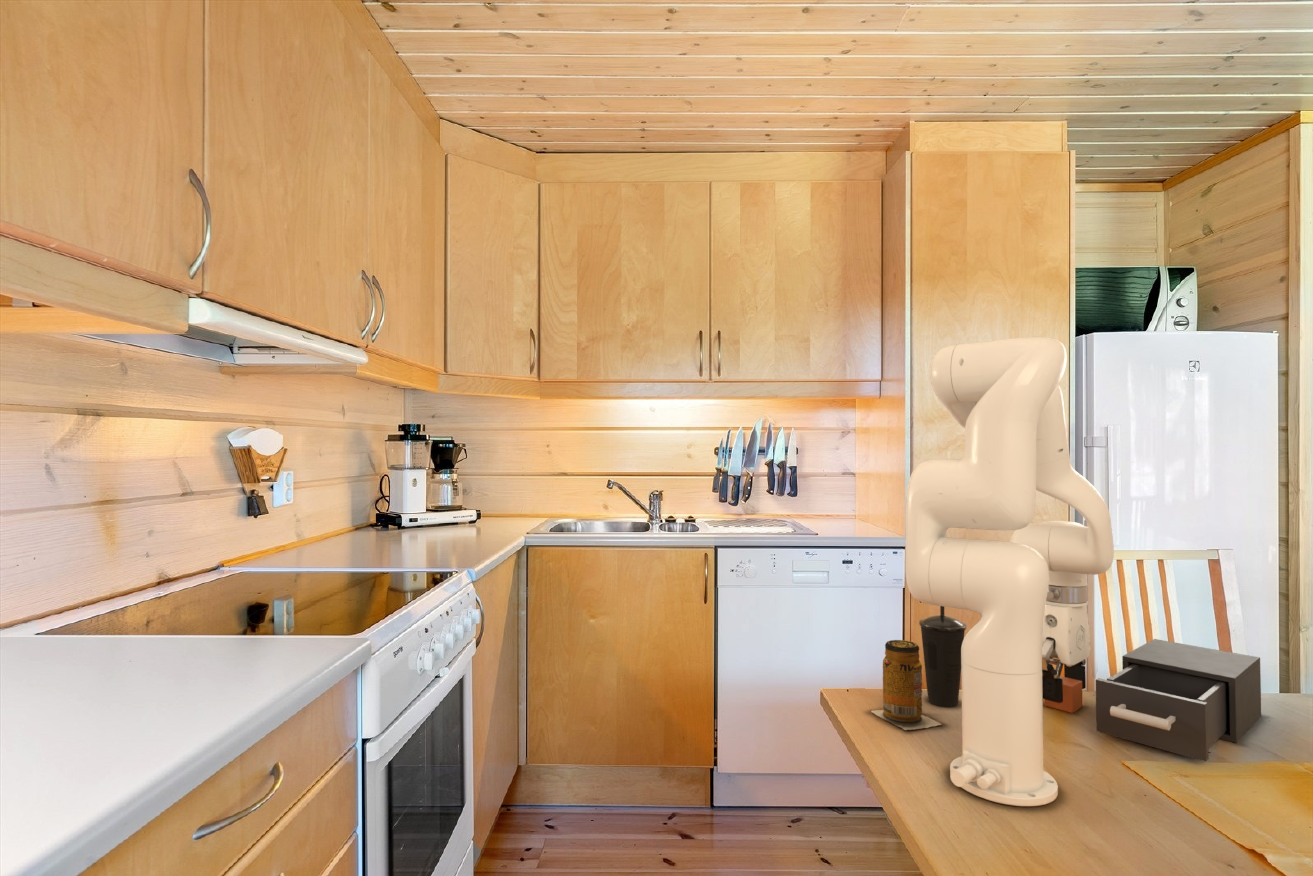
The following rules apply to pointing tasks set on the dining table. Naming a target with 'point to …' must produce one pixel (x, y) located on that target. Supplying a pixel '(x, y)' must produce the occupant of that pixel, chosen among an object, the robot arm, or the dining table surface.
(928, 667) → the drinking cup
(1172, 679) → the drawer
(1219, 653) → the cabinet
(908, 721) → the condiment
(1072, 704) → the block
